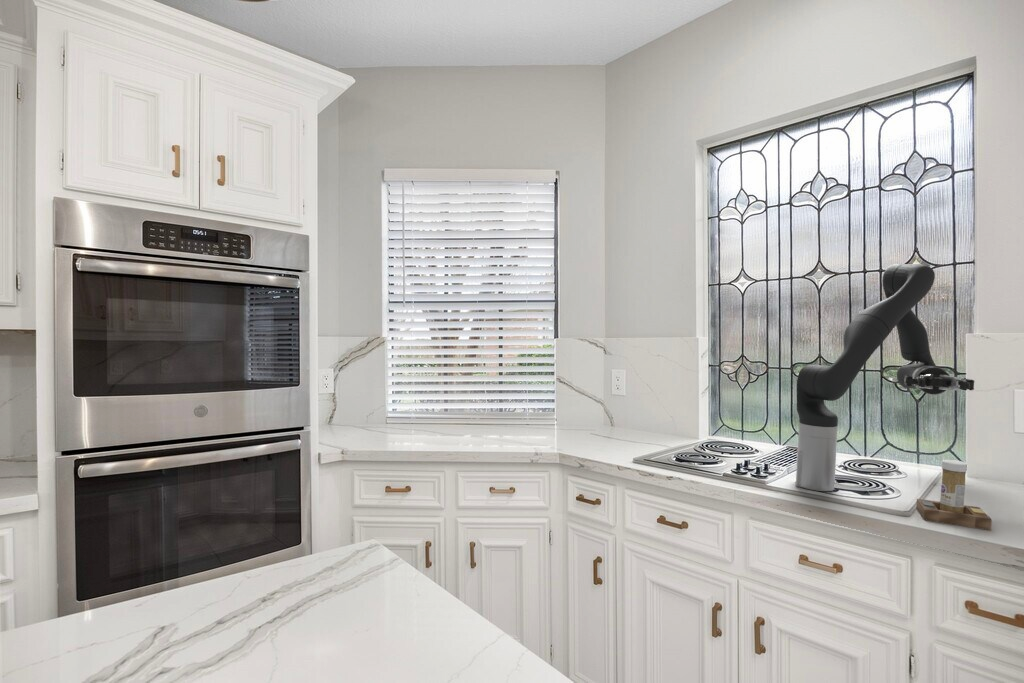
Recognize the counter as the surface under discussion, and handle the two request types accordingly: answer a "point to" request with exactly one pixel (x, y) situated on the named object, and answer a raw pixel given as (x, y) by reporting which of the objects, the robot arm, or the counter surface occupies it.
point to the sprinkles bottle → (953, 486)
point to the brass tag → (977, 511)
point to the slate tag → (927, 504)
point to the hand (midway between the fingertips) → (944, 384)
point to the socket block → (953, 515)
